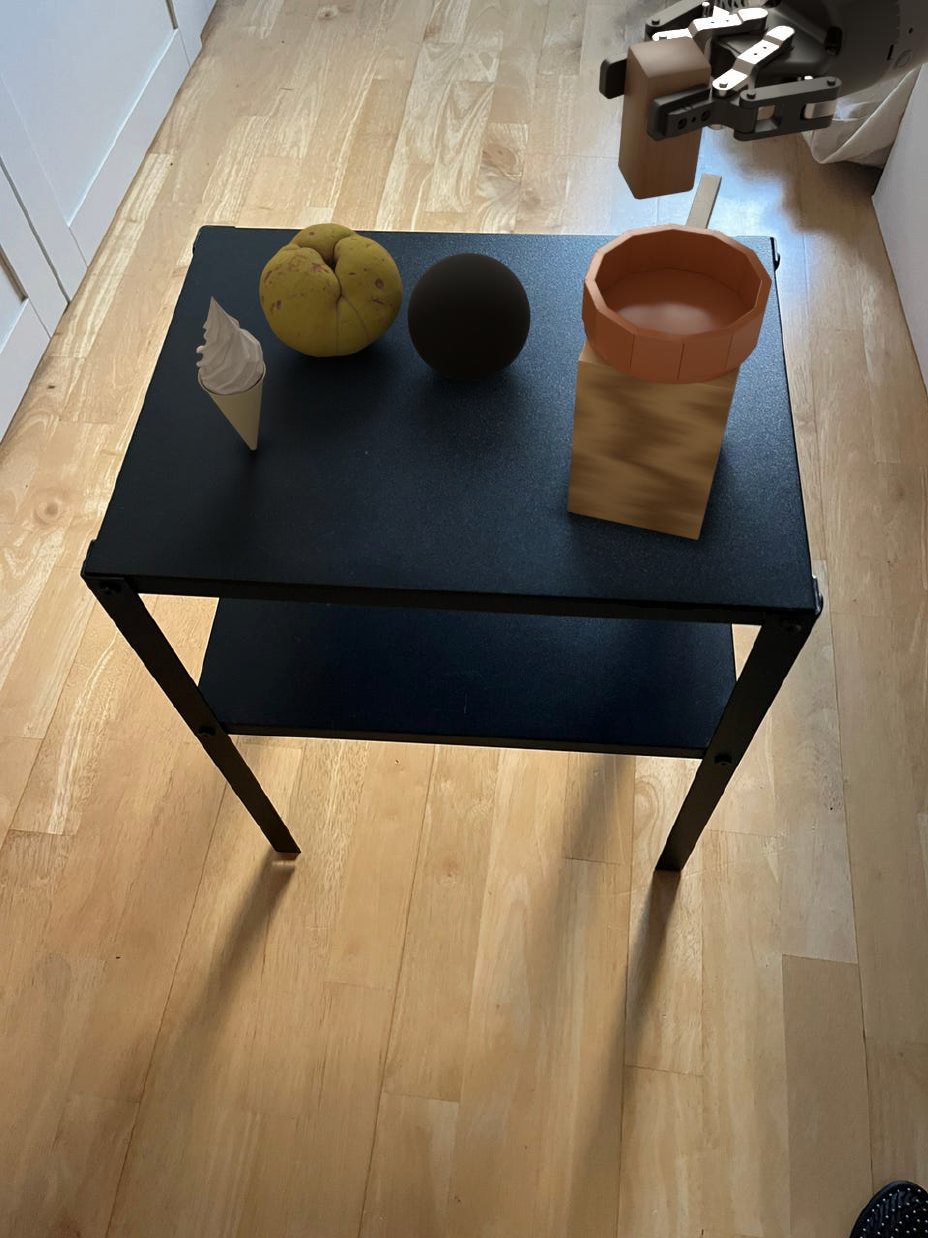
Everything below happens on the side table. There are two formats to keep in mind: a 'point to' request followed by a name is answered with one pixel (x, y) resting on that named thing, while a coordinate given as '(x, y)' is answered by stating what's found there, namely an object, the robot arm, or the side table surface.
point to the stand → (645, 446)
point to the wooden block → (647, 79)
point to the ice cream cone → (232, 372)
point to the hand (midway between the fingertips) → (627, 100)
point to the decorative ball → (468, 317)
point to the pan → (676, 298)
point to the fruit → (330, 291)
